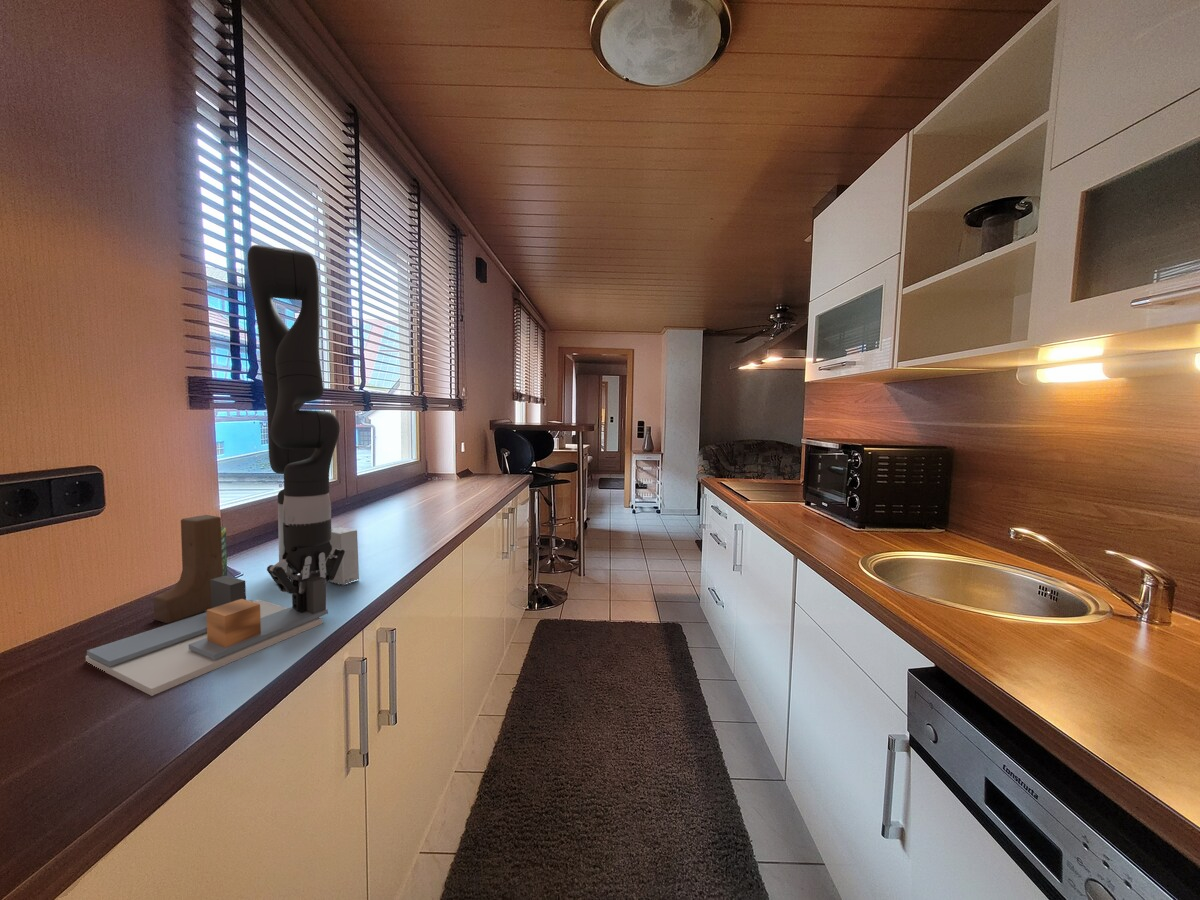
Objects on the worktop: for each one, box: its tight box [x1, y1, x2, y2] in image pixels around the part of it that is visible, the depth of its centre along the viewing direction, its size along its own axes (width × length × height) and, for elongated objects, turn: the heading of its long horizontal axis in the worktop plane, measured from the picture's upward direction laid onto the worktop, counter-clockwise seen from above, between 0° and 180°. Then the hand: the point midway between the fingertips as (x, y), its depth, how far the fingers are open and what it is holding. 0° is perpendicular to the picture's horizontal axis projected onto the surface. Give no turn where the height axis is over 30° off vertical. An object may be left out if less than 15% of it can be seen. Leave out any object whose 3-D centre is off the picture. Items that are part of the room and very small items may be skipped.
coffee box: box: [221, 526, 228, 576], centre depth 95 cm, size 8×3×13 cm, turn 28°
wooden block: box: [152, 514, 223, 625], centre depth 85 cm, size 9×4×18 cm, turn 160°
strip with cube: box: [189, 574, 329, 660], centre depth 77 cm, size 18×7×7 cm, turn 157°
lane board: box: [85, 599, 323, 697], centre depth 75 cm, size 24×19×1 cm
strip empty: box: [86, 575, 247, 667], centre depth 74 cm, size 18×7×7 cm, turn 157°
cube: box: [205, 599, 261, 647], centre depth 73 cm, size 5×5×5 cm
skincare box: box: [326, 526, 360, 585], centre depth 103 cm, size 6×4×12 cm
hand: (309, 607), depth 84 cm, fingers closed on strip with cube, 2 cm apart
